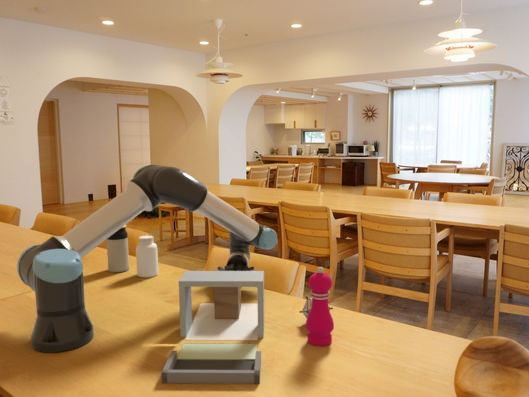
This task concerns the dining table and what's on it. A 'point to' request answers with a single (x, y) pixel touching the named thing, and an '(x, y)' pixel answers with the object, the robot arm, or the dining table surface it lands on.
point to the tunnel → (204, 321)
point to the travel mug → (118, 251)
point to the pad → (217, 351)
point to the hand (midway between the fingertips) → (231, 285)
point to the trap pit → (212, 370)
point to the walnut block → (227, 302)
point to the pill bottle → (146, 257)
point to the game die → (308, 307)
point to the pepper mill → (320, 310)
